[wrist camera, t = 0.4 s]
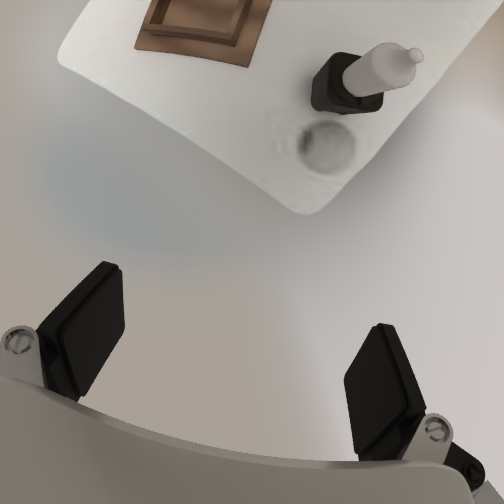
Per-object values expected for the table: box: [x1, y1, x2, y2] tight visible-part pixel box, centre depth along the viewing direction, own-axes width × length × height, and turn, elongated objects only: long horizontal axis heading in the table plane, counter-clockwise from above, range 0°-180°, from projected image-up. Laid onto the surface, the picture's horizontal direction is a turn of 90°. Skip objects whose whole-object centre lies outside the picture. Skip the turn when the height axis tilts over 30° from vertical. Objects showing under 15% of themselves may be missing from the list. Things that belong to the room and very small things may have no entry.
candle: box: [311, 43, 424, 115], centre depth 21 cm, size 5×5×25 cm
